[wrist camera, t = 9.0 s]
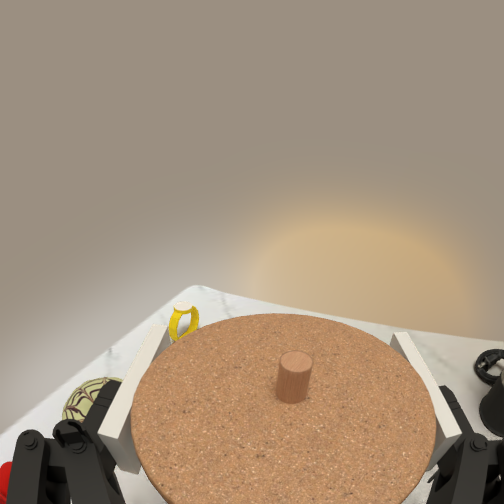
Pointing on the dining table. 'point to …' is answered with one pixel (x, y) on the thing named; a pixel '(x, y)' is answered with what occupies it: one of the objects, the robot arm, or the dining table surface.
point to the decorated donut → (84, 398)
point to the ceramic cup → (4, 481)
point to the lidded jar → (282, 415)
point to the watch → (178, 311)
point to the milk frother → (492, 392)
